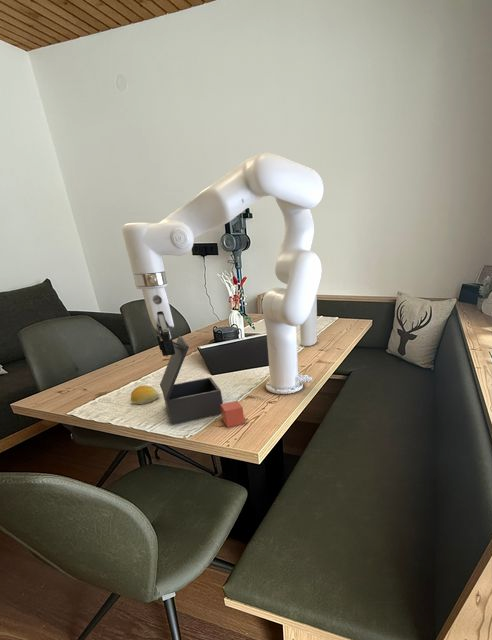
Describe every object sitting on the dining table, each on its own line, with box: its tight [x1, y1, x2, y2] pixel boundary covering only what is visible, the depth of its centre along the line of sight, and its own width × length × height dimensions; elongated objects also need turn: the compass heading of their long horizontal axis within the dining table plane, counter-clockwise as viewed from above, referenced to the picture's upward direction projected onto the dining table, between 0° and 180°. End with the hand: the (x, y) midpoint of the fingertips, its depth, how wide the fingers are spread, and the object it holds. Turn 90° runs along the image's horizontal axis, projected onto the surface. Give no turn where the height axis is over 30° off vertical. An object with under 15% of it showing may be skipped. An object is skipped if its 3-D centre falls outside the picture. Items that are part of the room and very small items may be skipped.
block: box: [220, 400, 245, 428], centre depth 100 cm, size 5×5×5 cm
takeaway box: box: [162, 376, 224, 426], centre depth 107 cm, size 15×12×7 cm
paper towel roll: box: [299, 294, 318, 347], centre depth 159 cm, size 7×6×21 cm
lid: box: [159, 335, 190, 401], centre depth 99 cm, size 16×12×5 cm
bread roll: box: [130, 385, 159, 405], centre depth 116 cm, size 8×9×4 cm
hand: (167, 351), depth 97 cm, fingers closed on lid, 5 cm apart
